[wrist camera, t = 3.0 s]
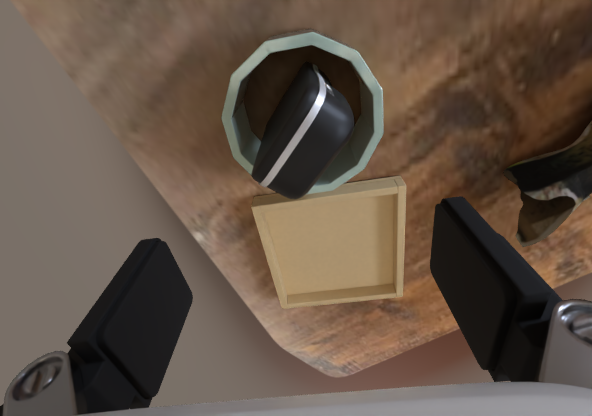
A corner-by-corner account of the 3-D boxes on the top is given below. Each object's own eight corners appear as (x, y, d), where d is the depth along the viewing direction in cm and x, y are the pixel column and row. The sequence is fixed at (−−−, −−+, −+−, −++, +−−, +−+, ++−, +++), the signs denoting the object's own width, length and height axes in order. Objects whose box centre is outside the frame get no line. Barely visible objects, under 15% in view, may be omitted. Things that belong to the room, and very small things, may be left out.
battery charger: (299, 149, 28) (298, 218, 19) (264, 127, 27) (244, 189, 18) (344, 83, 25) (372, 126, 15) (307, 56, 24) (311, 84, 14)
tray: (400, 175, 30) (406, 185, 28) (398, 283, 38) (402, 296, 36) (253, 196, 31) (250, 207, 29) (282, 296, 40) (281, 309, 38)
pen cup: (365, 17, 22) (382, 17, 18) (370, 156, 29) (384, 183, 24) (220, 46, 24) (201, 54, 19) (255, 173, 30) (247, 203, 25)
